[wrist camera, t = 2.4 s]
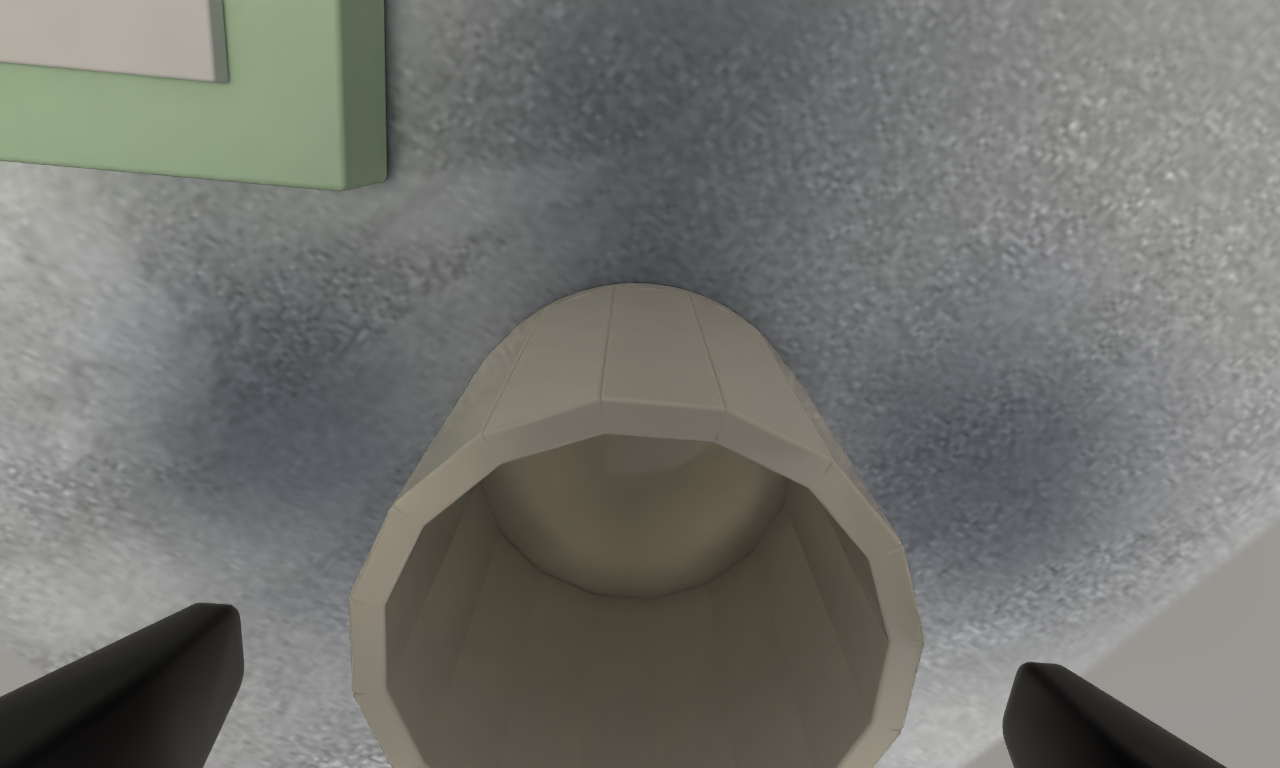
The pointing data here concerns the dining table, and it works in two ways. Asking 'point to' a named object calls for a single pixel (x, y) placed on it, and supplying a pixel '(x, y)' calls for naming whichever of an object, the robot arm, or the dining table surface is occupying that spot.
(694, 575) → the ramekin
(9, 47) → the scale
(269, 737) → the dining table surface
